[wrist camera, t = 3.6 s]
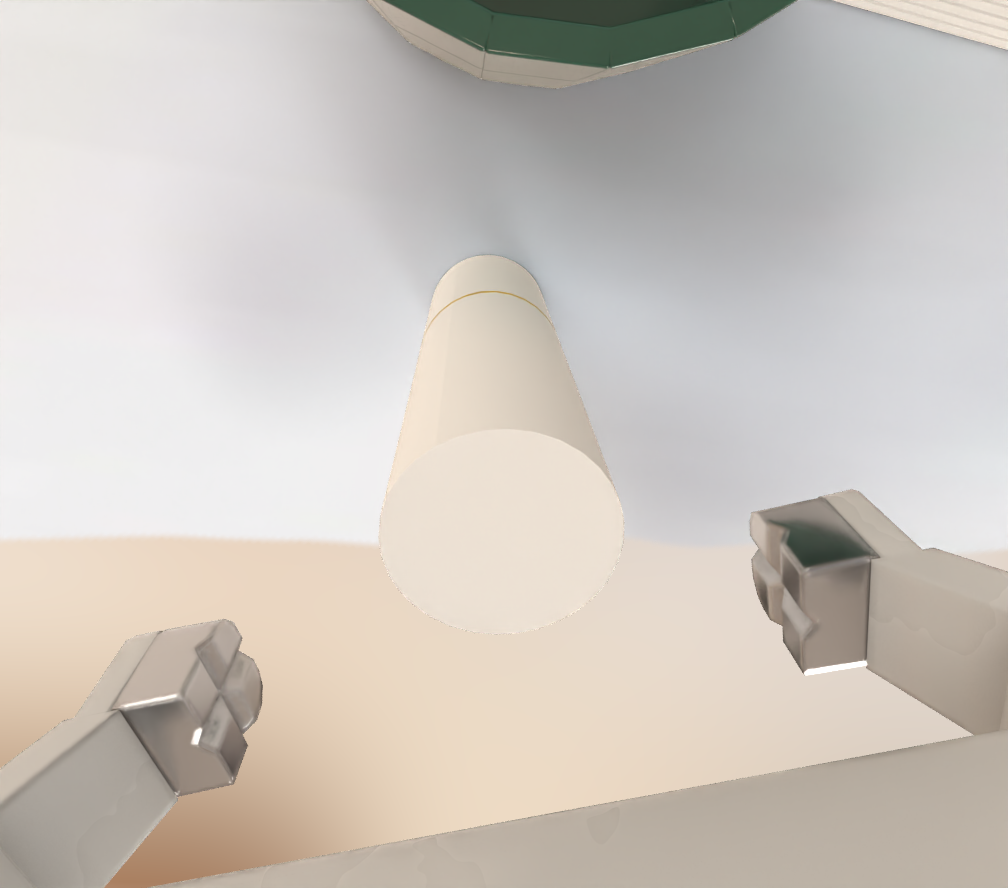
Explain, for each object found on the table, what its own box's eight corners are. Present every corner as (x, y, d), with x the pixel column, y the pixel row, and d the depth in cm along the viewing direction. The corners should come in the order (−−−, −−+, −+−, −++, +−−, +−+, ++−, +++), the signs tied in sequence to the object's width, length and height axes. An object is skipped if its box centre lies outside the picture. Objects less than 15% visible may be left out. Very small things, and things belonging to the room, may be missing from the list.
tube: (408, 293, 24) (327, 505, 11) (508, 232, 24) (552, 381, 10) (469, 385, 26) (462, 666, 13) (563, 331, 25) (663, 571, 12)
